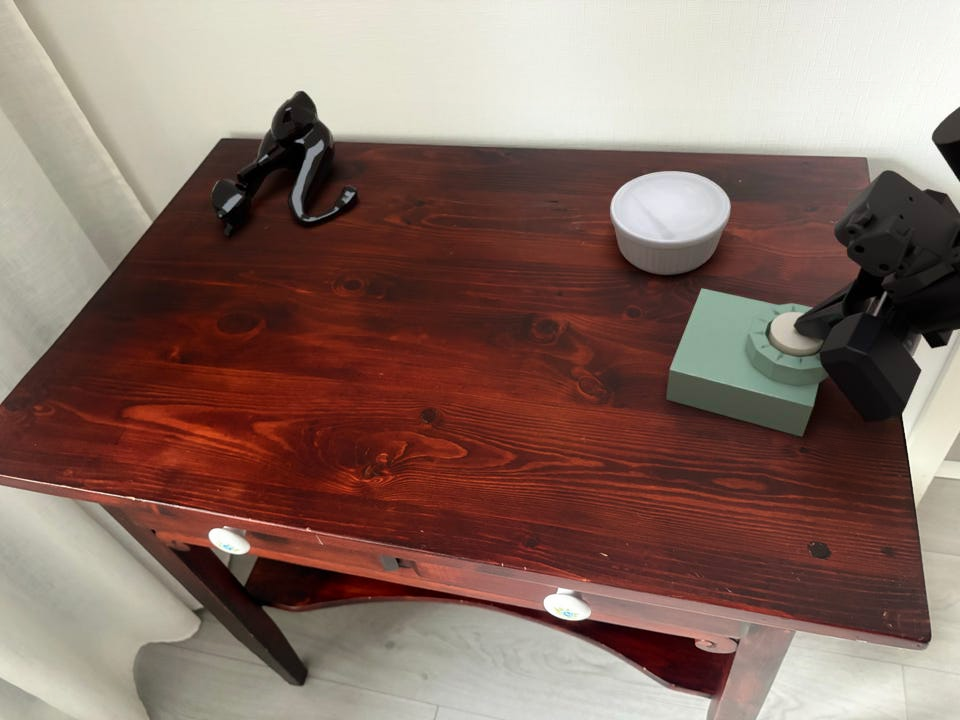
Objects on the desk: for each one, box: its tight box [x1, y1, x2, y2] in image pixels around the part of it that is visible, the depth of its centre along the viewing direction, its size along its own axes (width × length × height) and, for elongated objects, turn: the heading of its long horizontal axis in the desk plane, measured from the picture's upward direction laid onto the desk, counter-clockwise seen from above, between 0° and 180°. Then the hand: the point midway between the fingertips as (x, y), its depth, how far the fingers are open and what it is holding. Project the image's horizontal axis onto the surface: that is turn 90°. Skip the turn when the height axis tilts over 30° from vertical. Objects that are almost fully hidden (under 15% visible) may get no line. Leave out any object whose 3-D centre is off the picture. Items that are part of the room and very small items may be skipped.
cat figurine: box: [210, 90, 359, 238], centre depth 87 cm, size 10×14×18 cm
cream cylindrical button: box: [768, 312, 823, 358], centre depth 59 cm, size 4×4×2 cm
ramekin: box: [609, 170, 732, 276], centre depth 74 cm, size 11×11×5 cm
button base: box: [665, 287, 830, 438], centre depth 62 cm, size 12×10×6 cm
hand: (797, 327), depth 58 cm, fingers closed, pressing on cream cylindrical button
